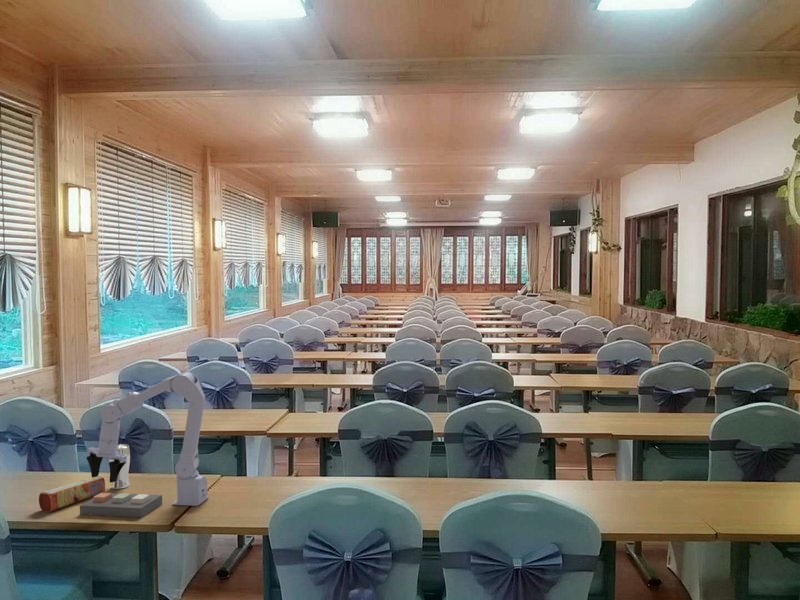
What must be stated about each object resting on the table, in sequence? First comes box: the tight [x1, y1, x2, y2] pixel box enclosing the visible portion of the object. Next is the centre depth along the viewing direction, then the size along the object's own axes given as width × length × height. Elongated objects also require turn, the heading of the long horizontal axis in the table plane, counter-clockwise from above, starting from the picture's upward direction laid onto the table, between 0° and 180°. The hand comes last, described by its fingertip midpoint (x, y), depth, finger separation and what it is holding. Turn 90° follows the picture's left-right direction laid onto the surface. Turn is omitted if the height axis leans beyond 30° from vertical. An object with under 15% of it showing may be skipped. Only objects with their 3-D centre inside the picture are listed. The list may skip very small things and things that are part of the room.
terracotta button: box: [92, 492, 113, 502], centre depth 200 cm, size 4×4×3 cm
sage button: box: [112, 493, 132, 503], centre depth 199 cm, size 4×4×3 cm
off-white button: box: [131, 493, 151, 504], centre depth 198 cm, size 4×4×3 cm
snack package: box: [38, 475, 106, 513], centre depth 208 cm, size 21×7×7 cm, turn 154°
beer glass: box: [108, 443, 131, 490], centre depth 222 cm, size 7×7×15 cm
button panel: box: [79, 492, 163, 518], centre depth 199 cm, size 22×12×3 cm, turn 80°
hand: (103, 479), depth 201 cm, fingers open, 7 cm apart
